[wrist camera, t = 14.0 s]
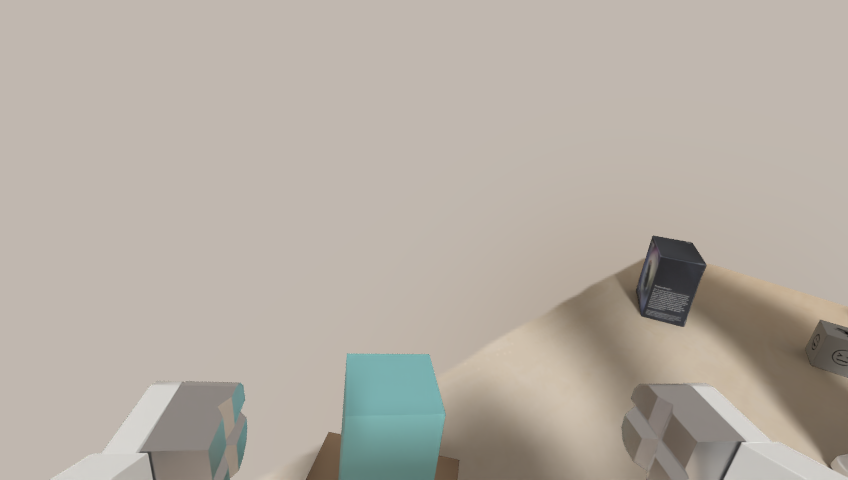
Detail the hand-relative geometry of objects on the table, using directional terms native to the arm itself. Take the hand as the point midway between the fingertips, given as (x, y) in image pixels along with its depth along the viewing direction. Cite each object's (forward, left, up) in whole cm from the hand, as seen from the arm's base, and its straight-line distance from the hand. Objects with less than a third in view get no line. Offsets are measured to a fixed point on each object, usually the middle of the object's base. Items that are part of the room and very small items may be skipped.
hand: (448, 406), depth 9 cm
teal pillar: (-4, -11, -19) cm, 23 cm away
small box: (-60, -30, -24) cm, 71 cm away
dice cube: (-71, -11, -24) cm, 76 cm away
